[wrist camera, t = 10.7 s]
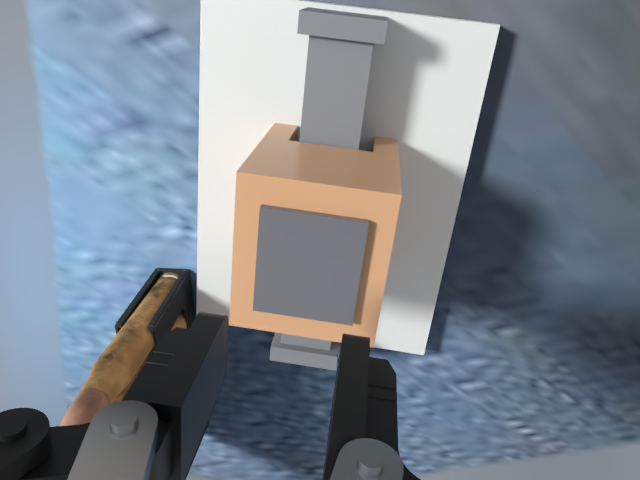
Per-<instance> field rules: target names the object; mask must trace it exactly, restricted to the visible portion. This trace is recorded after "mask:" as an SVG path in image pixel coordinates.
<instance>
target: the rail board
mask: <svg viewBox="0 0 640 480" xmlns="http://www.w3.org/2000/svg"><path fill="white" fill-rule="evenodd" d="M499 29H500V25H499V24H496V23H489V22H480V21H472V20H464V19H456V18H447V17H439V16H431V15H423V14H415V13H406V12H398V11H390V10H382V9H374V8H365V7H357V6H349V5H341V4H333V3H324V2H316V1H308V0H201V19H200V92H199V165H198V238H197V311H196V316H197V314H198V313H199V312H200V311H201V312H207V313H214V314H220V315H227V316H228V321H229V316H230V295H231V274H232V253H233V232H234V211H235V190H236V172H237V170H238V169H239V168H240V167H241V165H242V164H243V163H244V161H245V160H246V159H247V158H248V156H249V155H250V154H251V153H252V151H253V150H254V149H255V148H256V146H257V145H258V144H259V142H260V141H261V140H262V139H263V137H264V136H265V135H266V134H267V132H268V131H269V130H270V128H271V127H272V126H273V125H274V123H282V124H289V125H296V126H298V127H297V138H296V141H297V142H304V143H311V144H319V145H326V146H333V147H340V148H348V149H355V150H362V151H369V152H372V151H373V144H374V138H375V136H377V137H384V138H391V139H398V150H399V163H400V177H401V190H402V197H401V203H400V208H399V213H398V219H397V224H396V229H395V235H394V240H393V246H392V251H391V256H390V262H389V267H388V273H387V278H386V283H385V289H384V294H383V299H382V305H381V310H380V316H379V321H378V326H377V332H376V337H375V342H374V347H375V348H381V349H388V350H394V351H401V352H407V353H414V354H420V355H424V352H425V348H426V344H427V339H428V335H429V331H430V326H431V322H432V318H433V313H434V309H435V305H436V300H437V296H438V292H439V288H440V283H441V279H442V275H443V270H444V266H445V262H446V257H447V253H448V249H449V244H450V240H451V236H452V231H453V227H454V223H455V218H456V214H457V210H458V206H459V201H460V197H461V193H462V188H463V184H464V180H465V175H466V171H467V167H468V162H469V158H470V154H471V149H472V145H473V141H474V136H475V132H476V128H477V124H478V119H479V115H480V111H481V106H482V102H483V98H484V93H485V89H486V85H487V80H488V76H489V72H490V67H491V63H492V59H493V54H494V50H495V46H496V42H497V37H498V33H499ZM228 325H229V324H228ZM339 343H340V342H334V341H327V340H321V339H314V338H308V337H302V336H295V335H289V334H282V333H276V332H275V335H274V338H273V341H272V344H271V349H270V360H271V361H277V362H284V363H290V364H297V365H303V366H309V367H316V368H322V369H329V370H335V371H336V365H337V359H338V351H339Z"/></svg>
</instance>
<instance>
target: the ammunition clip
mask: <svg viewBox="0 0 640 480" xmlns="http://www.w3.org/2000/svg"><path fill="white" fill-rule="evenodd" d="M195 318H196V316H195V308H194V300H193V292H192V285H191V277H190V270H188V269H167V268H156V269H155V270H154V272H153V273H152V275H151V276H150V277H149V279H148V280H147V281H146V283H145V284H144V286H143V287H142V288H141V290H140V291H139V292H138V294H137V295H136V297H135V298H134V299H133V301H132V302H131V303H130V305H129V306H128V308H127V309H126V310H125V312H124V313H123V314H122V316H121V317H120V319H119V320H118V321H117V323H116V324H115V329H116V334H117V335H116V336H115V337H114V339H113V340H112V341H111V343H110V344H109V345H108V347H107V348H106V349H105V351H104V352H103V353H102V355H101V356H100V357H99V359H98V360H97V361H96V363H95V364H94V366H93V368H92V370H91V373H90V375H89V378H88V380H87V381H86V383H85V384H84V386H83V387H82V389H81V390H80V392H79V395H78V396H77V397H76V399H75V400H74V402H73V403H72V404H71V406H70V407H69V409H68V411H67V413H66V414H65V416H64V418H63V420H62V422H61V424H60V426H68V425H79V424H85V423H89V422H91V420H92V418H93V417H94V416H95V414H96V413H97V412H99V411H100V410H101V409H103V408H104V407H106V406H108V405H110V404H112V403H115V402H119V401H122V399H123V397H124V396H125V394H126V393H127V391H128V390H129V388H130V386H131V385H132V383H133V382H134V380H135V378H136V377H137V375H138V374H139V372H140V371H141V369H142V367H143V366H144V364H146V361H147V359H148V358H149V356H150V355H151V353H153V350H154V348H155V347H156V345H157V344H158V342H159V340H160V339H161V337H163V336H164V335H166V334H167V333H169V332H170V331H172V330H173V329H174V328H176V327H179V328H185V329H189V328H190V327H191V325H192V323H193V321H194V320H195ZM208 424H209V420H208V422H207V425H206V427H205V429H204V432H203V434H202V437H201V439H200V442H199V444H198V447H197V449H196V452H195V454H194V457H193V459H192V462H191V464H190V466H189V469H188V471H187V474H186V476H185V479H186V477H187V475H188V472H189V470H190V467H191V465H192V463H193V460H194V458H195V455H196V453H197V451H198V448H199V446H200V443H201V441H202V439H203V436H204V434H205V431H206V429H207V427H208ZM185 479H184V480H185Z"/></svg>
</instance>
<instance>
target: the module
mask: <svg viewBox="0 0 640 480" xmlns="http://www.w3.org/2000/svg"><path fill="white" fill-rule="evenodd" d="M297 127H298V126H296V125H289V124H282V123H274V125H273V126H272V127H271V128H270V130H269V131H268V132H267V134H266V135H265V136H264V137H263V139H262V140H261V141H260V142H259V144H258V145H257V146H256V148H255V149H254V150H253V151H252V153H251V154H250V155H249V156H248V158H247V159H246V160H245V161H244V163H243V164H242V165H241V167H240V168H239V169H238V170H237V172H236V190H235V211H234V232H233V253H232V274H231V295H230V316H229V325H231V326H237V327H244V328H250V329H257V330H263V331H269V332H276V333H282V334H289V335H295V336H302V337H308V338H314V339H321V340H327V341H334V342H340V343H341V341H342V335H343V334H350V335H356V336H363V337H370V347H372V348H374V342H375V337H376V332H377V326H378V321H379V316H380V310H381V305H382V299H383V294H384V289H385V283H386V278H387V273H388V267H389V262H390V256H391V251H392V246H393V240H394V235H395V229H396V224H397V219H398V213H399V208H400V203H401V197H402V190H401V177H400V163H399V150H398V139H391V138H384V137H377V136H375V138H374V144H373V151H372V152H369V151H362V150H355V149H348V148H340V147H333V146H326V145H319V144H311V143H304V142H297V141H296V138H297Z"/></svg>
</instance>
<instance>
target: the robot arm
mask: <svg viewBox="0 0 640 480" xmlns="http://www.w3.org/2000/svg"><path fill="white" fill-rule="evenodd" d="M228 324H229V321H228V316H227V315H220V314H214V313H207V312H201V311H200V312H199V313H198V314H197V316H196V318H195V320H194V321H193V323H192V325H191V327H190V328H189V329H185V328H179V327H176V328H174V329H173V330H172V331H170V332H169V333H167V334H166V335H164V336H163V337H161V339H160V340H159V342H158V344H157V345H156V347H155V348H154V350H153V353H151V355H150V356H149V358H148V359H147V361H146V364H144V366H143V367H142V369H141V371H140V372H139V374H138V375H137V377H136V378H135V380H134V382H133V383H132V385H131V386H130V388H129V390H128V391H127V393H126V394H125V396H124V397H123V399H122V401H119V402H115V403H112V404H110V405H108V406H106V407H104V408H103V409H101V410H100V411H99V412H97V413H96V414H95V416H94V417H93V418H92V420H91V422H89V423H85V424H79V425H68V426H58V427H50V425H49V420H48V418H47V417H46V415H45V414H44V413H42V412H40V411H38V410H35V409H31V408H15V409H10V410H7V411H3V412H1V413H0V480H184V479H185V476H186V474H187V471H188V469H189V466H190V464H191V462H192V459H193V457H194V454H195V452H196V449H197V447H198V444H199V442H200V439H201V437H202V434H203V432H204V429H205V427H206V425H207V422H208V420H209V417H210V415H211V412H212V410H213V407H214V405H215V402H216V400H217V397H218V395H219V393H220V390H221V388H222V385H223V381H224V377H225V373H226V366H227V347H228ZM369 352H370V337H363V336H356V335H350V334H343V335H342V341H341V348H340V355H339V361H338V368H337V374H336V381H335V388H334V395H333V403H332V410H331V418H330V426H329V434H328V442H327V450H326V457H325V465H324V473H323V480H420V479H419V478H417V477H416V476H415V475H413V474H412V473H411V472H410V471H409V470H408V469H407V468H406V467H405V465H404V464H403V462H402V460H401V458H400V455H399V452H398V427H397V392H396V373H395V371H394V370H393V368H392V366H391V365H390V363H389V361H388V360H385V359H378V358H372V357H369Z"/></svg>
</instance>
